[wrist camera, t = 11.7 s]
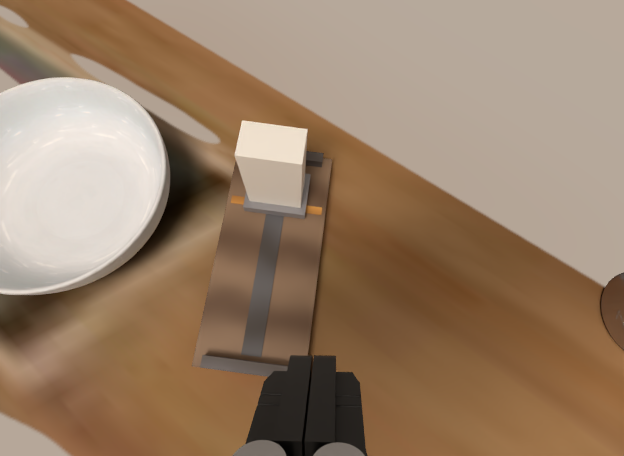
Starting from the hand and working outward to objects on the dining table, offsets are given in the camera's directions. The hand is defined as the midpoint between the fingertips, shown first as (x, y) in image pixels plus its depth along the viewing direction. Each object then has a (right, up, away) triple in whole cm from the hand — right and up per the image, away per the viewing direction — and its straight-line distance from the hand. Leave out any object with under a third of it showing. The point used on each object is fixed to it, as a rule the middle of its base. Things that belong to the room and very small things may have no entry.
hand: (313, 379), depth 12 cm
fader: (-3, +8, +25) cm, 26 cm away
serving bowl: (-24, +7, +27) cm, 37 cm away
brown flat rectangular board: (-4, +2, +25) cm, 26 cm away
